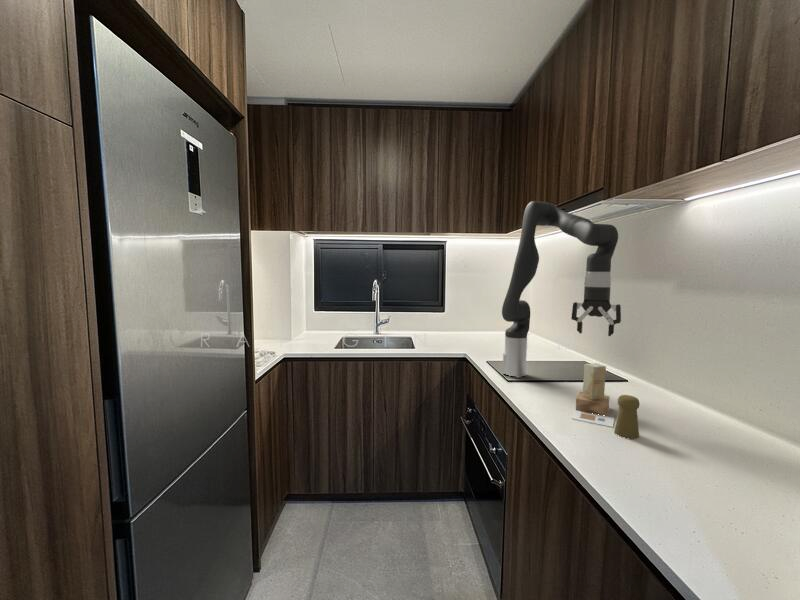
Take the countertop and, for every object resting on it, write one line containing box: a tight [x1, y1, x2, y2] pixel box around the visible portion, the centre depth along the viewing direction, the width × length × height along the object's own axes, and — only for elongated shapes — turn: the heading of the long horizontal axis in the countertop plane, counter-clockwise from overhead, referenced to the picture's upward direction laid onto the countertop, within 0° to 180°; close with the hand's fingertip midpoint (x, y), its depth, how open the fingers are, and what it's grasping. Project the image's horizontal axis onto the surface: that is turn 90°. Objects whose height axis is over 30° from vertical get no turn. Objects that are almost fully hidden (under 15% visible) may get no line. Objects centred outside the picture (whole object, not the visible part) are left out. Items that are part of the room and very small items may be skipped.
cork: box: [613, 394, 641, 440], centre depth 101 cm, size 6×6×11 cm
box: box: [582, 362, 607, 400], centre depth 119 cm, size 5×4×11 cm
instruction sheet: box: [571, 409, 615, 428], centre depth 112 cm, size 11×8×1 cm
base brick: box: [575, 390, 610, 416], centre depth 120 cm, size 9×9×4 cm
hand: (594, 334), depth 119 cm, fingers open, 8 cm apart
